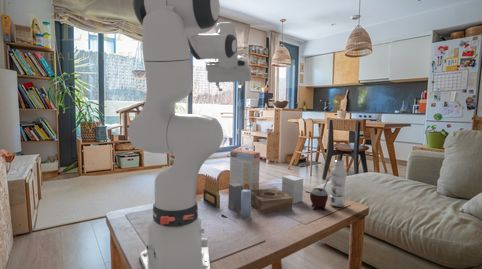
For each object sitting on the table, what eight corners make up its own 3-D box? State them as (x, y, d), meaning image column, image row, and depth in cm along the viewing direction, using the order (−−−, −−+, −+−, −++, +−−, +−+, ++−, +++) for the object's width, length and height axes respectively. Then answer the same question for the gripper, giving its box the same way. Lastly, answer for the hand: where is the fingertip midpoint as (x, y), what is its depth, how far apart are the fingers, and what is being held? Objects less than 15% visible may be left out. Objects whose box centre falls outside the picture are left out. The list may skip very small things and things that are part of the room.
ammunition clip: (219, 207, 109) (220, 178, 108) (216, 207, 108) (216, 179, 107) (206, 199, 117) (207, 173, 116) (203, 200, 116) (203, 173, 115)
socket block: (292, 209, 108) (292, 197, 108) (261, 213, 103) (261, 201, 103) (275, 198, 121) (276, 187, 121) (247, 201, 116) (248, 190, 116)
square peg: (242, 209, 107) (242, 185, 106) (233, 210, 105) (233, 186, 104) (237, 205, 111) (237, 182, 110) (228, 207, 109) (228, 183, 108)
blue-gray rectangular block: (251, 217, 99) (252, 192, 98) (242, 219, 98) (243, 192, 97) (248, 214, 102) (248, 189, 101) (239, 215, 101) (240, 189, 100)
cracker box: (259, 196, 124) (260, 152, 122) (251, 199, 120) (252, 153, 117) (237, 189, 133) (238, 148, 131) (228, 191, 129) (229, 149, 127)
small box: (302, 201, 118) (303, 178, 117) (293, 203, 115) (294, 180, 114) (289, 196, 125) (290, 174, 124) (281, 198, 121) (282, 176, 120)
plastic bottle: (345, 209, 110) (348, 162, 108) (328, 207, 112) (330, 161, 110) (344, 204, 116) (347, 159, 114) (328, 202, 118) (331, 158, 116)
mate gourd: (306, 207, 111) (308, 172, 109) (316, 203, 116) (318, 170, 115) (321, 213, 105) (324, 176, 104) (332, 208, 110) (334, 173, 109)
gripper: (203, 63, 115) (207, 93, 122) (250, 61, 114) (251, 92, 121) (206, 60, 121) (209, 88, 127) (250, 58, 119) (251, 87, 126)
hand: (230, 90), depth 124 cm, fingers open, 8 cm apart
